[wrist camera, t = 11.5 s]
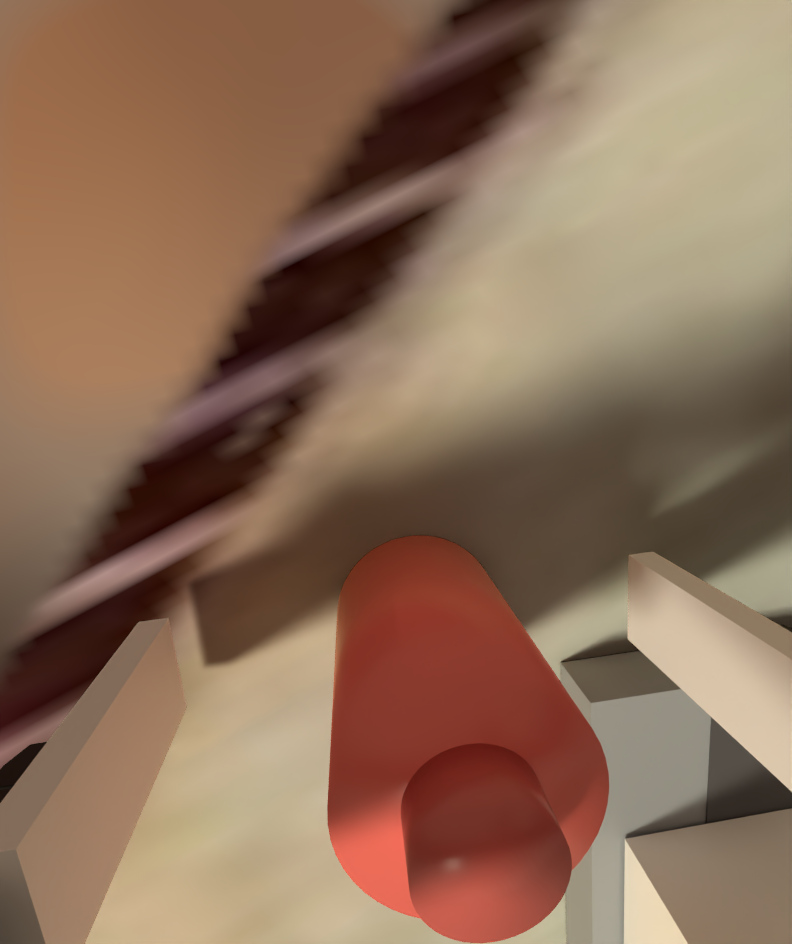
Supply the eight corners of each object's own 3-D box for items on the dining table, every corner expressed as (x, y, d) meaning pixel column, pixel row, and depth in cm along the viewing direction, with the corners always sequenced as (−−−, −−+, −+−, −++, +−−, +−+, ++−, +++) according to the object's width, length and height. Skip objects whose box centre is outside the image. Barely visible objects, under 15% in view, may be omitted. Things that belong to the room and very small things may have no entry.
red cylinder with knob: (321, 554, 15) (288, 776, 7) (481, 520, 15) (636, 695, 7) (355, 696, 16) (361, 1039, 8) (504, 662, 16) (661, 959, 8)
